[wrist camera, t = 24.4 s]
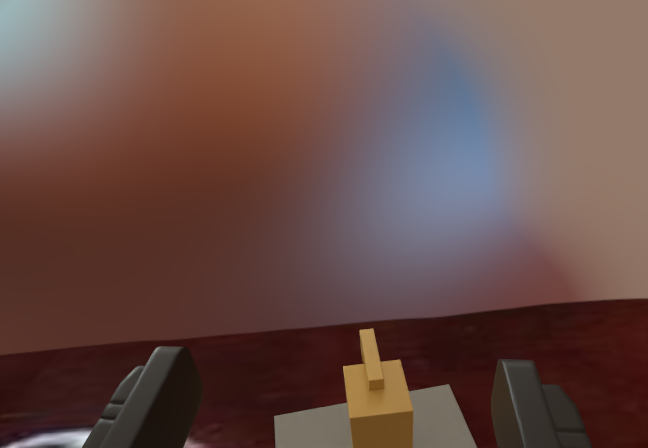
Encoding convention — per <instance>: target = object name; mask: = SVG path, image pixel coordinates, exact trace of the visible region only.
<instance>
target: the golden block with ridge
mask: <svg viewBox="0 0 648 448" xmlns="http://www.w3.org/2000/svg"><path fill="white" fill-rule="evenodd" d="M360 342H361V353H362V359H363V362H364V363H365V364H360V365H351V366H344V367H343V370H344V379H345V387H346V396H347V405H348V413H349V422H350V431H351V440H352V448H413V407H412V403H411V399H410V395H409V391H408V388H407V384H406V380H405V376H404V372H403V369H402V365H401V361H400V360H393V361H385V362H380V358H379V353H378V349H377V344H376V339H375V335H374V330H373V329H365V330H360Z"/></svg>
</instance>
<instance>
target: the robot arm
mask: <svg viewBox="0 0 648 448" xmlns="http://www.w3.org/2000/svg"><path fill="white" fill-rule="evenodd" d="M202 395H203V385H202V381H201V378H200V376H199V373H198V371H197V368H196V366H195V363H194V360H193V358H192V355H191V353H190V350H189V349H188V348H187V347H165V346H160V347H158V348H156V349H155V351H154V352H153V354H152V355H151V357H150V359H149V361H148V362H147V364H146V366H138V367H136V368H135V369H134V370H133V371H132V372H131V373H130V374H129V375H128V376H127V377H126V378H125V379H124V380H123V381H122V382H121V383H120V385H119V387H118V388H117V390H116V392H115V393H114V395H113V397H112V398H111V400H110V404H108V405H107V407H106V408H105V410H104V412H103V413H102V415H101V419H100V420H98V422H97V423H96V425H95V427H94V428H93V430H92V432H91V433H90V435H89V437H88V438H87V440H86V442H85V443H84V445H83V447H82V448H183V447H184V444H185V442H186V439H187V437H188V434H189V432H190V429H191V427H192V424H193V422H194V419H195V417H196V415H197V412H198V410H199V407H200V404H201V401H202ZM491 411H492V420H493V426H494V431H495V435H496V440H497V445H498V448H592V445H591V442H590V440H589V437H588V435H587V434H586V432H585V427H584V424H583V422H582V419H581V417H580V414H579V412H578V409H577V406H576V405H575V404H574V402H573V401H572V400H571V399H570V398H569V397H568V395H567V394H566V393H565V392H564V391H563V390H562V388H561V387H560V386H559V385H544V384H541V381H540V378H539V375H538V372H537V369H536V366H535V364H534V362H533V361H532V360H511V359H499V360H498V363H497V368H496V374H495V380H494V386H493V391H492V398H491Z"/></svg>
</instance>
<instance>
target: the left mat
mask: <svg viewBox="0 0 648 448" xmlns="http://www.w3.org/2000/svg"><path fill="white" fill-rule="evenodd" d="M409 395H410V399H411V403H412V407H413V448H477V446H476V444H475V442H474V440H473V437H472V435H471V433H470V431H469V429H468V426H467V424H466V422H465V420H464V417H463V415H462V413H461V411H460V408H459V406H458V404H457V402H456V399H455V397H454V395H453V393H452V390H451V388H450V386H449V385H443V386H438V387H432V388H427V389H421V390H416V391H410V392H409ZM274 419H275V443H276V448H352V440H351V431H350V422H349V413H348V405H347V403H344V404H339V405H333V406H328V407H322V408H317V409H311V410H306V411H300V412H295V413H289V414H284V415H278V416H275V417H274Z"/></svg>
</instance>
